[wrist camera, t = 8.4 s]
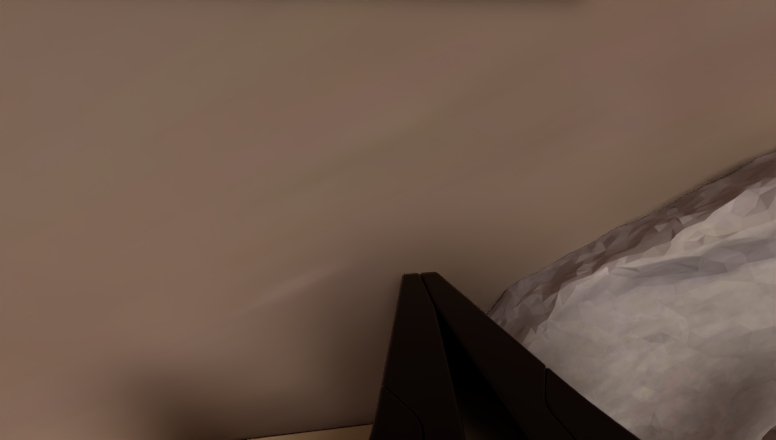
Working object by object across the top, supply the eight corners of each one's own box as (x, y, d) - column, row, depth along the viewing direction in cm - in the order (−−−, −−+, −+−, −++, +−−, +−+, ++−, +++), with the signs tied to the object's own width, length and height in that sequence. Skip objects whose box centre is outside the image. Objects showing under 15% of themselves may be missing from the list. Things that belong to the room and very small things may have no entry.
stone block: (414, 312, 13) (570, 434, 16) (431, 430, 9) (643, 572, 12) (701, 61, 10) (836, 266, 13) (952, 49, 6) (1076, 365, 8)
